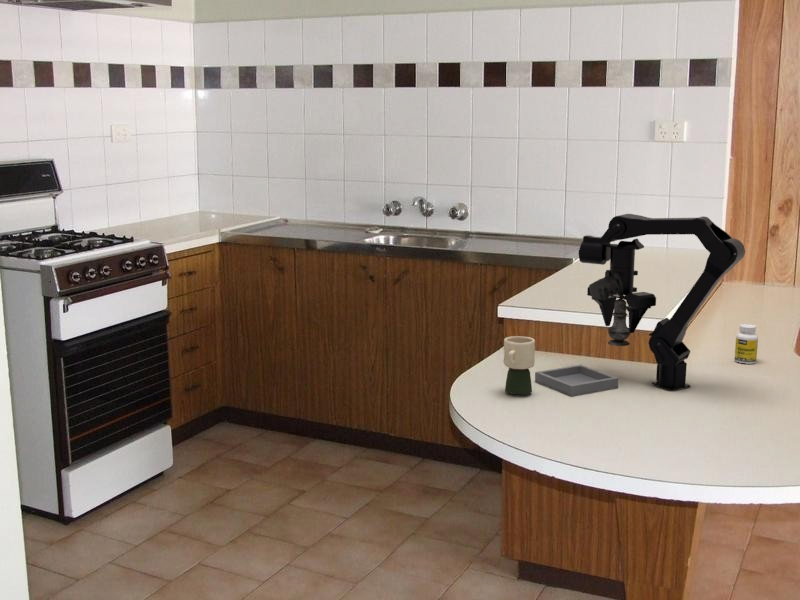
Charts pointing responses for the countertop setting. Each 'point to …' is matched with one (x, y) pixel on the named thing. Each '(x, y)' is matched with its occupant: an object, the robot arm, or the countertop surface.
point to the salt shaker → (619, 325)
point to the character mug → (519, 363)
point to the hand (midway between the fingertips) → (619, 329)
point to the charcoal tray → (576, 380)
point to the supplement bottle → (746, 344)
